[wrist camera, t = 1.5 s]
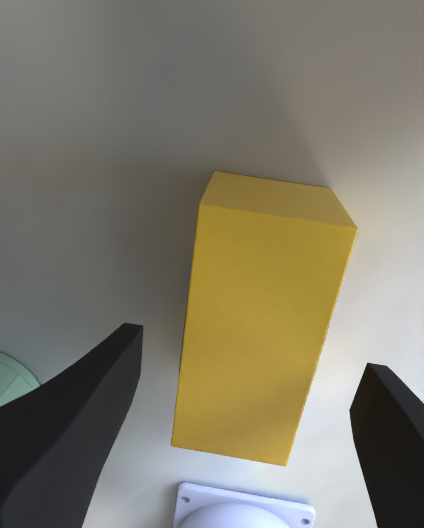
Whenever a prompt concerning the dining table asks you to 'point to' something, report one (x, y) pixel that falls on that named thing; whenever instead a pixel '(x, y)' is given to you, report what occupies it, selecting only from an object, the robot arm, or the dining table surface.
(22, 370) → the mug
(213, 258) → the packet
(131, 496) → the dining table surface
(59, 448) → the robot arm
